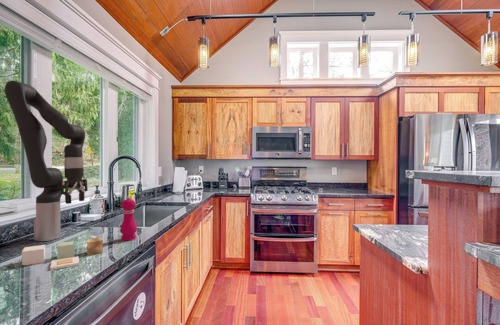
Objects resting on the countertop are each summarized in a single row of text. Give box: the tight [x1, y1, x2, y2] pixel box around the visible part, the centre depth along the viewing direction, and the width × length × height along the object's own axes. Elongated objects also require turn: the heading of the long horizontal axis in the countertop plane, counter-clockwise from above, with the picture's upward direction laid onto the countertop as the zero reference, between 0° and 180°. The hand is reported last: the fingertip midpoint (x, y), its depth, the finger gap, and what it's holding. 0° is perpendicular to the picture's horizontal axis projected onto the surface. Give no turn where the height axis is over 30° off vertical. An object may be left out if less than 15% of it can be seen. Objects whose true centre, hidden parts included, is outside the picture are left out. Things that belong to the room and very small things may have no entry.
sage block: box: [57, 240, 75, 260], centre depth 103 cm, size 5×5×5 cm
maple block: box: [86, 237, 104, 256], centre depth 108 cm, size 5×5×5 cm
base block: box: [21, 244, 46, 266], centre depth 98 cm, size 6×6×5 cm
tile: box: [49, 255, 80, 271], centre depth 95 cm, size 8×8×1 cm
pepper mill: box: [119, 195, 138, 242], centre depth 127 cm, size 7×7×20 cm
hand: (75, 202), depth 127 cm, fingers open, 8 cm apart
